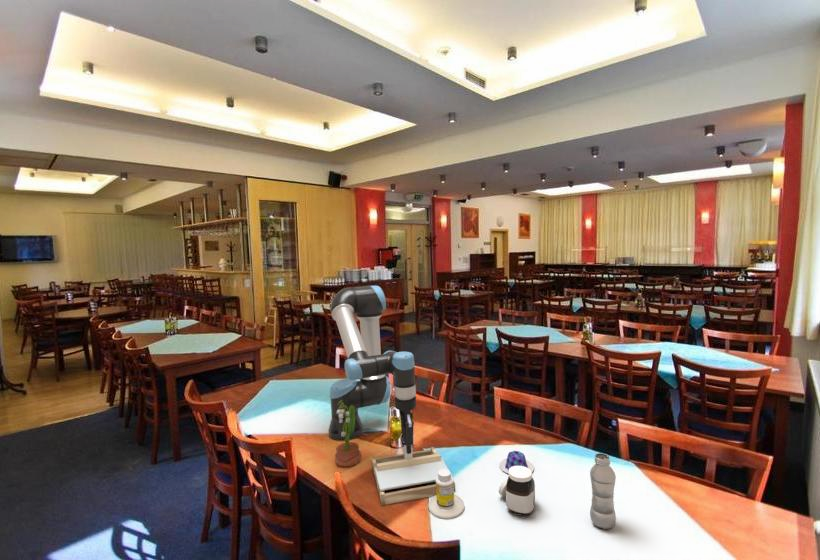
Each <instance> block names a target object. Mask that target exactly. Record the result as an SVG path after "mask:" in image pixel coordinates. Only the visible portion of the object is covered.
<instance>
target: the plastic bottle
mask: <svg viewBox="0 0 820 560" xmlns="http://www.w3.org/2000/svg"><path fill="white" fill-rule="evenodd" d="M594 463H595V464H594V465H592V467H591V468H590V471H589V476H590V483H591V491H592V493H591V495H592V497H591V505H590V510H589V515H590V520H591V523H593V524H594V526H595V527H598V528H600V529H604V530H609V529H612V528H613V527H615V525H616V522H617V521H616V520H617V516H616V510H615V502H614V495H615V494H614V491H615V485H616V476H617V475H616V472H615V470H613V468H612V466H611V461H610V456H609V455H608V454H606V453H603V452H599V453H595V454H594Z"/></svg>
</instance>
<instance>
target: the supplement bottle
mask: <svg viewBox="0 0 820 560" xmlns="http://www.w3.org/2000/svg"><path fill="white" fill-rule="evenodd" d="M451 475H452V473H451V471H450V470H449V469H448V470H447V469H442V470H439V471H438V477H437V478H436V481H435V484H436V498H437V505H438V506H439V507H441V508H443V509H448V508H451V507H452V506H453V505H454V495H455V492H454V482H455V481H454V477H452V476H453V475H452V476H451Z"/></svg>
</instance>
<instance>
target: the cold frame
mask: <svg viewBox="0 0 820 560" xmlns="http://www.w3.org/2000/svg"><path fill="white" fill-rule="evenodd" d="M433 454H439V453H438V451H437V450H436V449H435V446H430V449H425V450H418V451H412V455H413V458H415V457H421V456H427V455H433ZM370 458H371V466H372V470H373V471H372V472H373V474H374V478H375V482H376V483H375V484H376V487H377V492H378V494H379V495H378V496H379V499H380V503H381V506H386V505H387V506H388V505H392V504H396V503H402V502H403V503H404V502H409V501H413V500H419V499H424V498H429V497H434V496H435V495H436V483H434V484H430V485H429V484H428V485H425V486H419V487H414V488H413V487H412V488H409V489H401V490H396V491H390V492H386V493H385V490H384V491H380V488H379V484H378V480H377V476H376V472H375V469H377V464H378V463H384V462H390V461H396V460H402V459H404V453H400V454H394V455H387V456H381V457H376V456H374V455H373V456H371V457H370ZM454 493H456V483H455V481H454Z"/></svg>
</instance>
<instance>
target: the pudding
mask: <svg viewBox="0 0 820 560" xmlns="http://www.w3.org/2000/svg"><path fill="white" fill-rule="evenodd" d="M513 466H524V467H527V468H528V469H530V470H531V472H532V473H533V472H534V470H535V466H534V464H533V463H532V462H530V461H529V460H527V459H526V456H525V454H524V452H521V451H519V450H512V451H509V452H508V453H507V457H506V458H504V459H502V460H501V461H500V462H499V468H500V469H501V470H502V471H503V472H504V473H506V474H508V475H509V472H508V471H509V468H511V467H513Z"/></svg>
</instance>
